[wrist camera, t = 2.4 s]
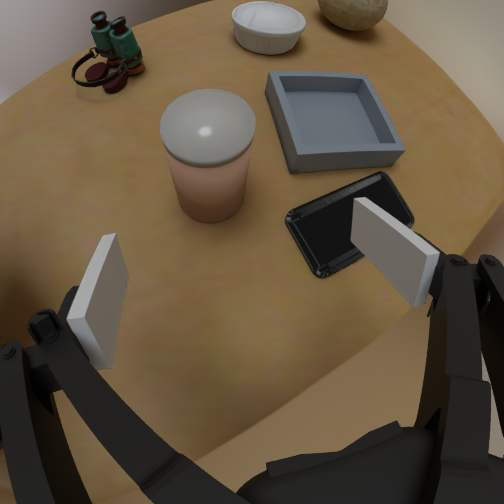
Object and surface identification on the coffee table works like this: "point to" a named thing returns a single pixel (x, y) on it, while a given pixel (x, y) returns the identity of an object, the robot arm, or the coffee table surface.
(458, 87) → the coffee table surface
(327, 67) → the coffee table surface
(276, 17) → the ramekin
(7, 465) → the robot arm
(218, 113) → the beige round cylinder
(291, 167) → the tray
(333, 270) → the phone
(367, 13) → the fossilized egg
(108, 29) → the binoculars
